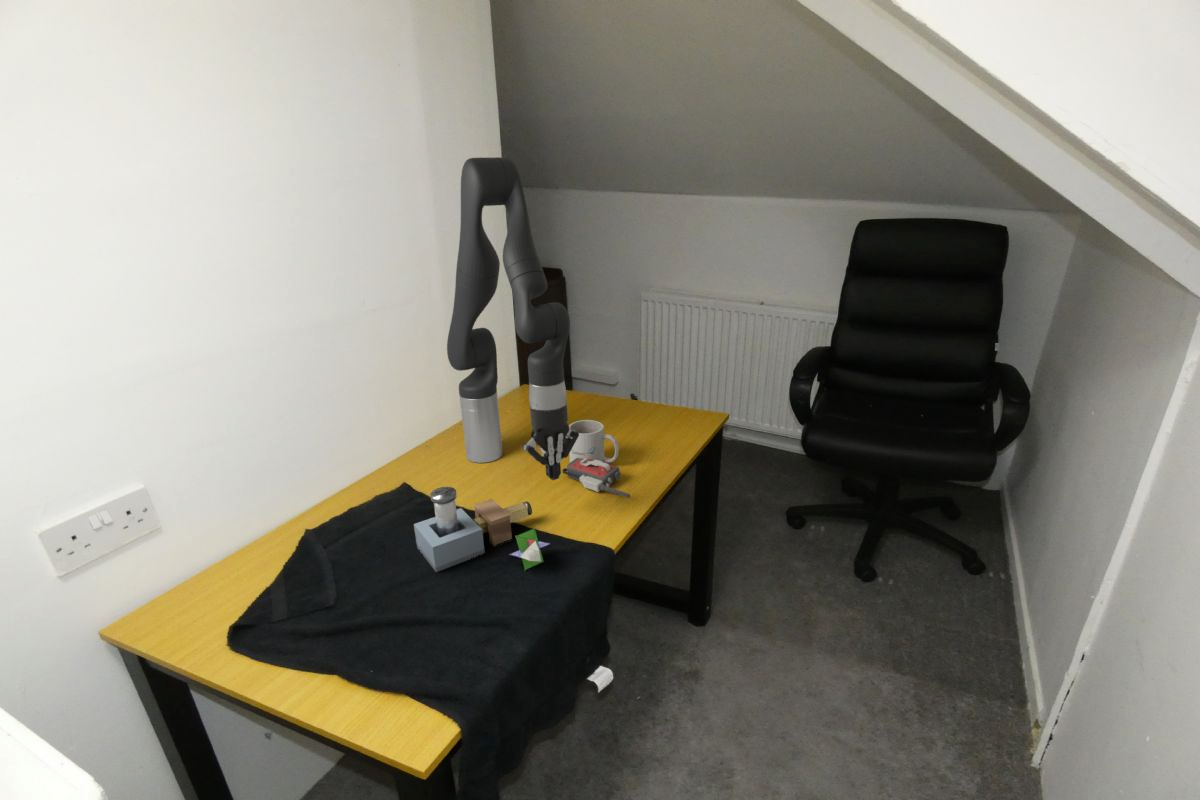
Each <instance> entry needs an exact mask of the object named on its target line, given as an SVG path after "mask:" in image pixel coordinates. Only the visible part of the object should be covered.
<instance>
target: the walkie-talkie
mask: <svg viewBox="0 0 1200 800" xmlns="http://www.w3.org/2000/svg"><path fill="white" fill-rule="evenodd" d="M561 473H562V474H564V475H567V478H570V479H572V480H573V479H574V480H576V481H578V482H581V484H582V485H583V487H584V488H585V489H589V490H591V491H595V492H597V493H599V492H601V491H602V492H607V493H611V494H614V495H617V496H623V497H626V498H630V497H631V494H630V493H628V492H624V491H621V490H618V489H616V488H612V487H610V486H611V484H613V483H614V482H615V481H619V479H620V478H621V472H620V468H619V466H615V465H611V463H606V462H602V461H599V460H593V459H587V458H585V459H584V458H576V459H574V460H573V461H572V462H570V461H569V463H567V465H566V467H565V468H562V469H561Z"/></svg>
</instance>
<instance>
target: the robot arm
mask: <svg viewBox="0 0 1200 800" xmlns="http://www.w3.org/2000/svg"><path fill="white" fill-rule="evenodd" d="M461 169H462V170H461V176H460V228H459V229H460V230H459V231H460V232H459V240H458V251H457V252H458V253H457V262H456V271H455V288H454V300H453V307H452V308H453V309H452V315H451V321H450V325H449V331H448V336H447V341H446V352H447V360H448V362H449V364H450V366H451V367H452V368H453V369H454V370H456V371H460V372H461V371H469V370H472V372H471V373H470V374H469V375H468V376H466V377H465V378H463V379H462V380H461V381H460V383H459V384H458V393H459V401H460V402H459V404H460V410H461V418H462V428H463V436H464V446H465V455H466V459H467V460H468V461H469V462H472V463H478V464H479V463H480V464H482V463H490V462H494V461H496V460H499V459H500V458H501V457H502V456H503V444H502V443H503V442H502V432H501V419H500V410H499V409H500V408H499V399H498V388H497V386H498V385H497V384H498V360H497V359H498V357H497V355H498V354H497V346H496V340H495V337H494V335H493V333H492V332H491V331H490V330H489V329H488V328H487V327H479V328H478V327H477V328H474V326H475V324H476V321H477V320H478V318H479V317H480V315H481V313H482V312H483V311H484V310H485V309H486V307H487V306H488V305H489V304H490V303H491V301H492V299H493V297H494V296H495V294H496V292H497V291H496V290H497V288H498V283H499V275H500V274H499V273H500V267H501V266H500V265H501V264H500V258H499V255H498V253H497V251H496V249H495V247H494V245H493V244H492V242H491V241H490V239H489V238H488V235H487V233H486V231H485V229H484V225H483V209H484V207H491V206H504V207H505V209H506V211H507V213H508V221H509V223H508V230H507V233H506V237H505V240H504V244H503V248H502V263H503V267H504V271H505V274H506V277H507V279H508V282H509V285H510V288H511V291H512V298H513V306H514V310H513V311H514V325H515V332H516V334H517V336H518V337H519V338H520V340H522V341H523V342H524V343H526V344H535V343H541V342H545V343H544V346H543V347H541V348H540V349H538V350H536V351H534V352H532V353H530V354H529V355H528V358H527V373H528V398H529V399H528V400H529V411H530V414H529V415H530V424H531V427H532V431H531V434H530V439H529V440H528V442H527V443H526V442H524V443H522V447H521V448H522V449H523V450H524V451H525V452H527V453H528V454H529V455H530V456H531V457H532V458H533V459H534V460H535V461H537V463H540V465H542V466H545V475H546V476H547V478H549V479H550V480H551V481H555V480H558V479H560V476H561V474H562V469H561V462H562V460H563V459H564V458H565V459H566V458H568V457H569V456H570V454H569V453H570V451H571V449H572V448H573V446H574V444H575V442H576V440H577V438H578V436H579V433H578V432H576V431H574V430H572V429H569V425H570V424H568V421H569V416H568V415H569V414H568V401H567V398H568V397H567V390H566V389H567V388H566V383H565V370H564V357H565V353H566V347H567V341H568V338H569V334H570V329H571V327H570V326H571V320H570V315H569V311H567V308H566V307H565V306H564V305H563V304H562V303H560V302H557V301H556V302H548V303H541V304H536V305H533V303H532V302H531V300H534V299H536V298H538V297H540V296H542V295H543V294H544V293H545V292H546V291H547V289H548V282H547V281H548V280H547V277H546V274H545V272H544V269H543V266H542V263H541V261H540V258H539V255H538V253H537V250H536V245H535V241H534V238H533V235H532V234H533V233H532V229H531V223H530V217H529V211H528V206H527V202H526V201H527V200H526V198H525V193H524V192H525V191H524V187H523V186H524V185H523V181H522V178H521V175H520V172H519V169H518V167H517V165H516V163H515V162H514V161H513V160H512V159H511V158H507V157H470V158H468V159H466V161H464V164H463V166H462V168H461ZM537 445H538V447H539V448H540V451H541V453H542V455H541V454H540V453H539V452H538V451H537V450H538V449H537Z"/></svg>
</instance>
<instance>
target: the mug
mask: <svg viewBox="0 0 1200 800" xmlns="http://www.w3.org/2000/svg"><path fill="white" fill-rule="evenodd" d="M568 425H569V429H572V430H574V431H576V432H578V433H579V436H578V438H577V440H576V442H575V444H574V446H573V448H572V449H571V451H570V453H569V463H570V462H572V461H573V460H574V459H576V458H584V459H585V458H587V459H593V460H599V461H602V462H606V463H608V464H611V463H614V462H615V461H616V460H617V458H618V455H619V450H620V448H619V442H618V441H617V439H616V437H614V436H613V435H612V434H610V433H609V434H608V433H607V434H606V433H604V430H605V429H604V426H605V425H604V424H603V423H602V422H599V421H597V420H593V419H582V420H581V419H580V420H576V421H575V422H574V421H573V422H571V423H570V424H568ZM605 440H610V441H611V442H612V444H613V446H614V456H613V457H612V458H610V457H606V456H605Z"/></svg>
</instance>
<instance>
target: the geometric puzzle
mask: <svg viewBox="0 0 1200 800" xmlns="http://www.w3.org/2000/svg"><path fill="white" fill-rule="evenodd" d="M515 541H516V542H515V543H514V544H513V546H512V548H511V551H513V549H514V548H515V546H516V545H517V546H516V547H517V548H518V550H516V551H514V552H511V553H509V554H508V555H509V556H511V557H512V559H513V560H515V558H513V557H517V558H519V560H520V562H521V563H522V566H521V565H520V564H519V562H517V561H516V560H515V562H516V563H517V564H518V565H519V566H521V568H523V570H524V571H526V570H529V569H532V568H533V567H535V566H537V565H540V564H541V563H544V562H545V559H544V556H543V551H542V548H544V547H546V546H548V547H547V549H546V552H545V555H547V552H548V550H549V549H550V548H549V547H550V545H551V543H550V542H546V541H541V540H540V539H539V535H538V533H537V529H536V527H533V528H532V529H530V530H527V531H525V532H522V533H520V534H518V535H515Z"/></svg>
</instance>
